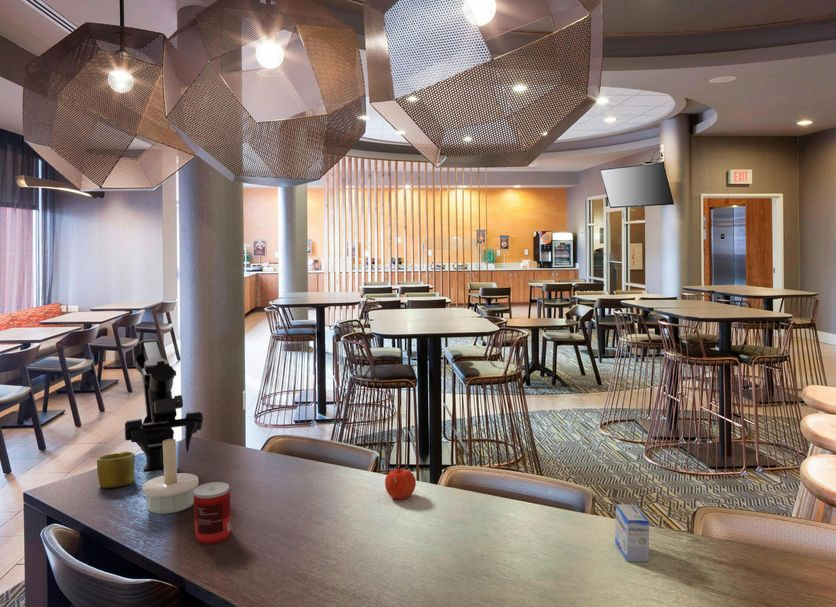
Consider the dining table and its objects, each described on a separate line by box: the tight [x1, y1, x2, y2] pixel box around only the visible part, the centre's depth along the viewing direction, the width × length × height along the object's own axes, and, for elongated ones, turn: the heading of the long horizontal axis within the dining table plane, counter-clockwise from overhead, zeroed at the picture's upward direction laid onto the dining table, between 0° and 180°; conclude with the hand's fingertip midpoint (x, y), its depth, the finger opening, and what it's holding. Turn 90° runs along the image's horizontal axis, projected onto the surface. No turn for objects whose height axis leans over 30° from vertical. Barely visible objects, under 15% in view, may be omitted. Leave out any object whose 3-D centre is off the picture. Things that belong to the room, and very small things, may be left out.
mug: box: [96, 450, 136, 489], centre depth 163 cm, size 12×10×10 cm
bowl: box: [146, 489, 194, 515], centre depth 147 cm, size 11×11×4 cm
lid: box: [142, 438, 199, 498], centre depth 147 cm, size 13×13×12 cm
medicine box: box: [614, 504, 650, 563], centre depth 120 cm, size 8×4×9 cm, turn 178°
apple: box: [384, 466, 417, 500], centre depth 150 cm, size 8×8×8 cm
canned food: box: [193, 481, 232, 545], centre depth 130 cm, size 8×8×11 cm
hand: (168, 454), depth 149 cm, fingers open, 9 cm apart
